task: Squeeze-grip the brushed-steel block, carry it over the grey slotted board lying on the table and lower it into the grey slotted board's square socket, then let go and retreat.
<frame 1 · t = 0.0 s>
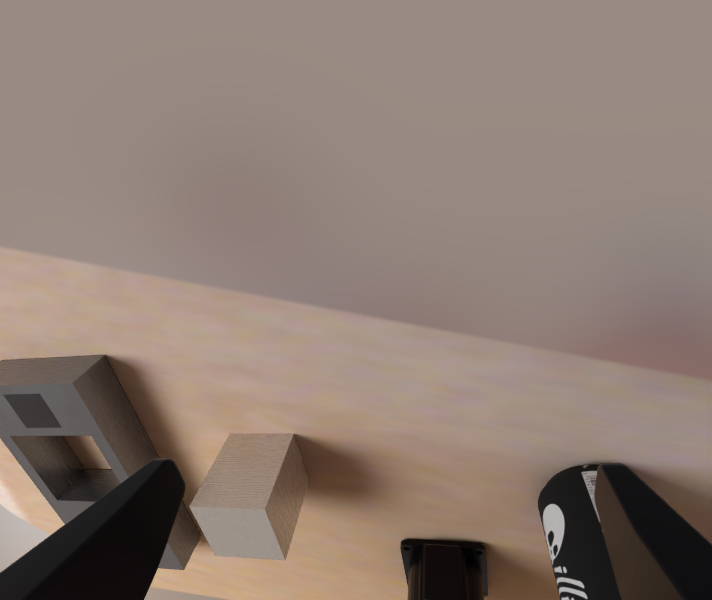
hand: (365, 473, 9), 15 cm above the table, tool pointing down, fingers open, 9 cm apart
beverage can: (586, 490, 28), on the table
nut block: (270, 457, 32), on the table
grey slotted board: (111, 457, 35), on the table
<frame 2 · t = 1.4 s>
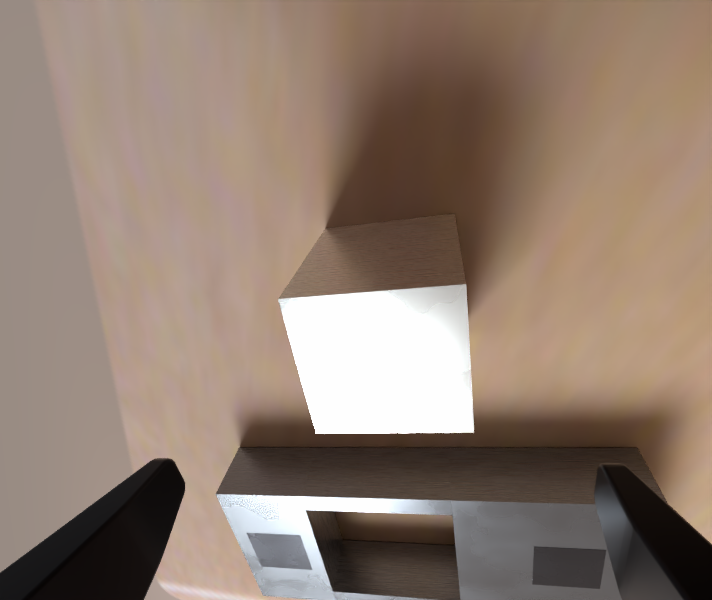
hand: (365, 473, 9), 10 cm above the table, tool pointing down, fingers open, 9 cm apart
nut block: (396, 279, 17), on the table
grey slotted board: (426, 505, 24), on the table
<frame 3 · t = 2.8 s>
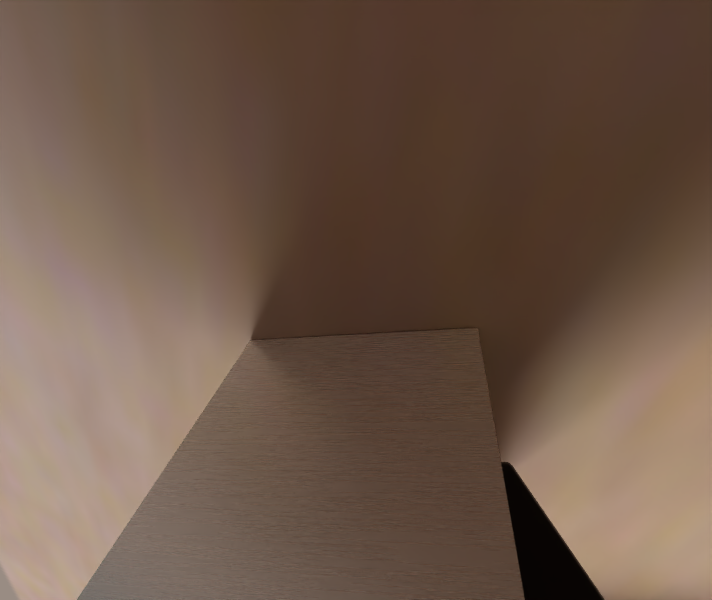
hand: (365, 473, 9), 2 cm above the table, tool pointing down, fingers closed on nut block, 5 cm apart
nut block: (374, 421, 10), on the table, touching gripper
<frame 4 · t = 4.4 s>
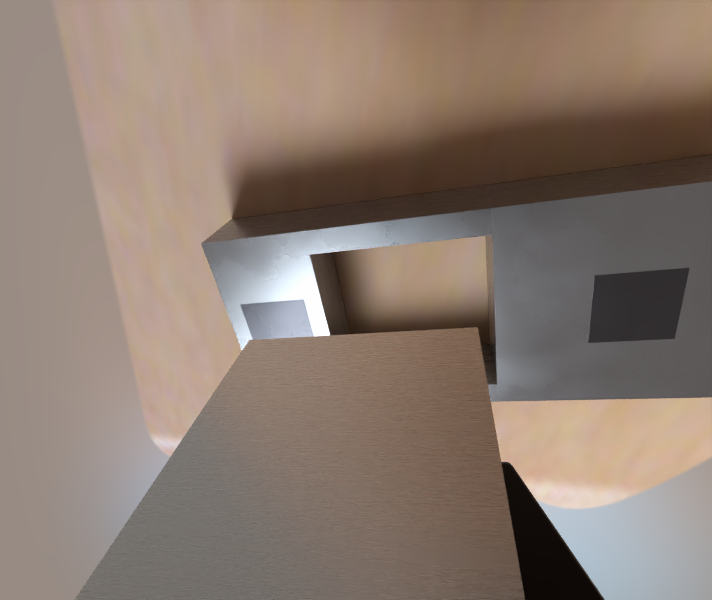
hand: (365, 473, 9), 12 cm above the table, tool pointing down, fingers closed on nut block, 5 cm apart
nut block: (373, 421, 10), point 11 cm above the table, touching gripper
grey slotted board: (454, 285, 20), on the table
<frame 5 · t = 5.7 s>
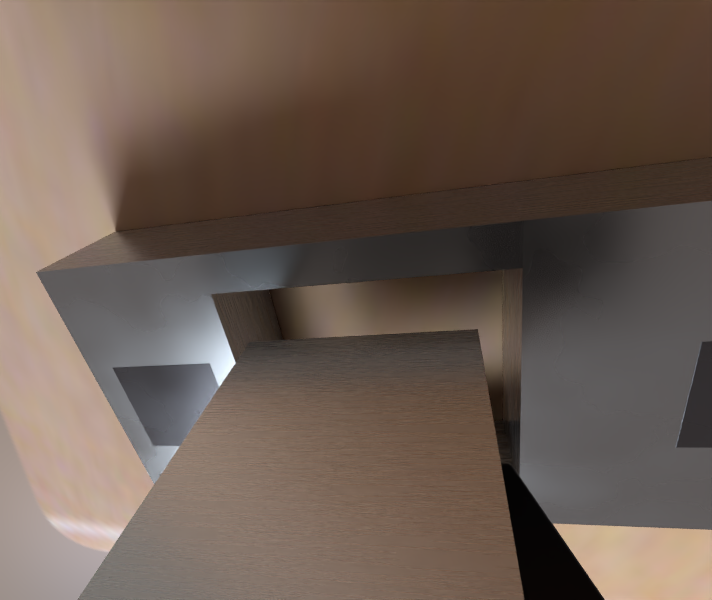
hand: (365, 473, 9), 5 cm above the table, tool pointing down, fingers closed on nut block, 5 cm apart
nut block: (373, 422, 10), point 4 cm above the table, touching gripper
grey slotted board: (451, 336, 13), on the table
when the fingers open (3 cm above the table, at t = 6.5 s): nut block drops 2 cm, resting in grey slotted board.
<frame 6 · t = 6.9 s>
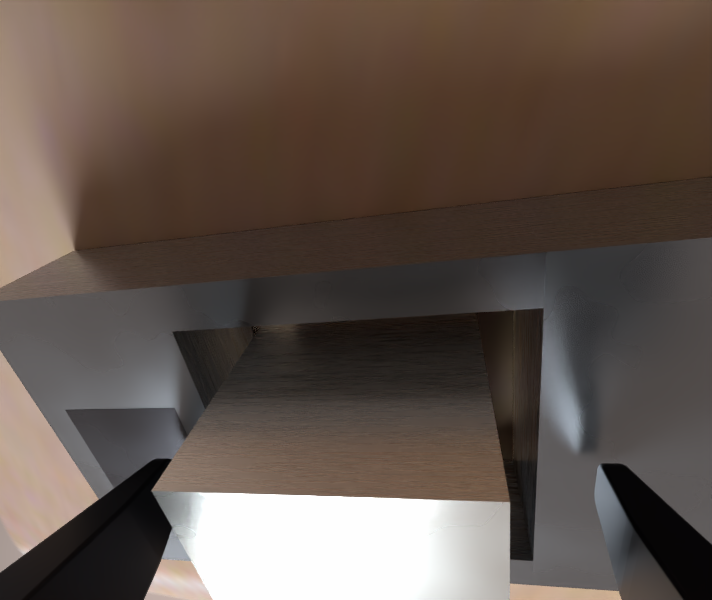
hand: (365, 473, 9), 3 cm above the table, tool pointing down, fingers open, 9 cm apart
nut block: (383, 368, 12), resting in grey slotted board
grey slotted board: (455, 369, 11), on the table
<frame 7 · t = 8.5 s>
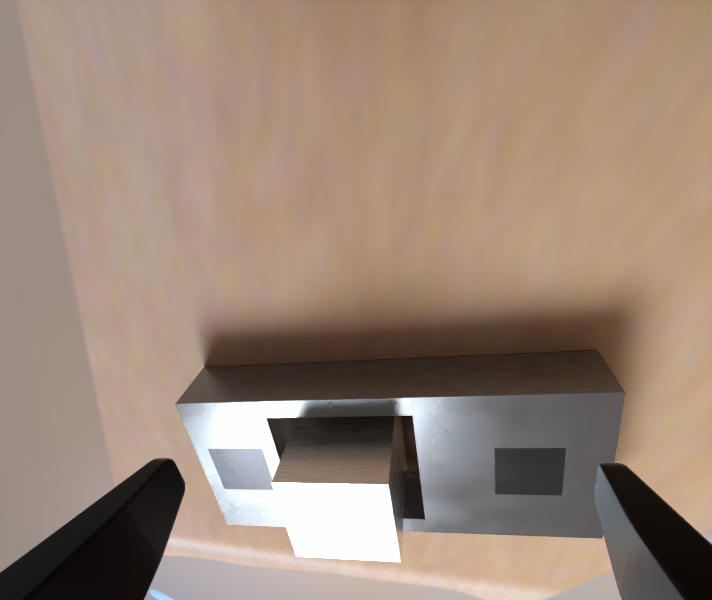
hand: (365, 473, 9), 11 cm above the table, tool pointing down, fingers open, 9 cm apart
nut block: (357, 425, 24), resting in grey slotted board
grey slotted board: (392, 427, 23), on the table
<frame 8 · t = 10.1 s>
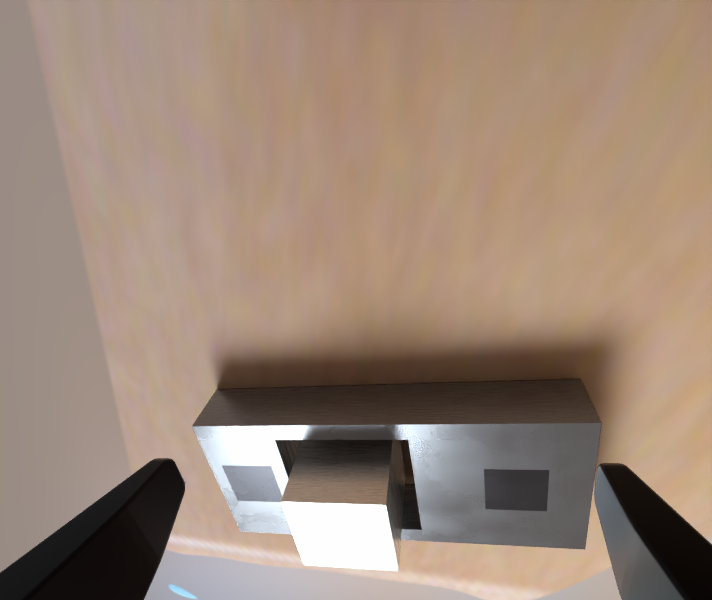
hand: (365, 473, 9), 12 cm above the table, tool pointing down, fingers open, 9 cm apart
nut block: (359, 442, 26), resting in grey slotted board
grey slotted board: (392, 444, 25), on the table
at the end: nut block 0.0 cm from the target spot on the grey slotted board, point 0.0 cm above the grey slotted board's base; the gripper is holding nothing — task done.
